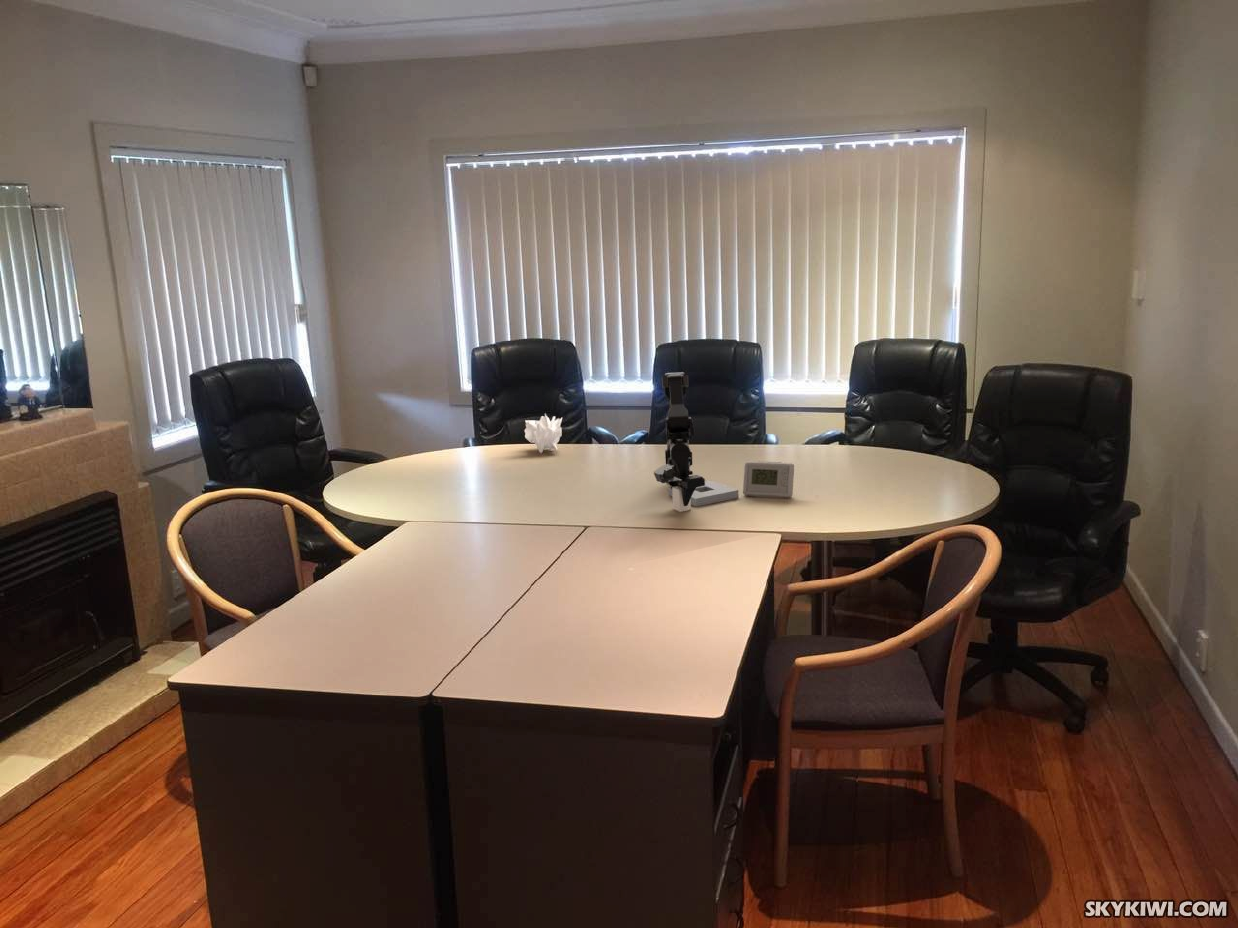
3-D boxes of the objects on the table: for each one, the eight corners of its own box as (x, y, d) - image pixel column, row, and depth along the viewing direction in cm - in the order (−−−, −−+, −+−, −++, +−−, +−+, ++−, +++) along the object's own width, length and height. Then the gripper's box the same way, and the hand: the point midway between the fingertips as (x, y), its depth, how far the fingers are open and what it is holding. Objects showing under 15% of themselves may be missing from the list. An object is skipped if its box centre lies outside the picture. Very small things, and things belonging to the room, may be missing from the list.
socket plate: (669, 496, 332) (668, 488, 331) (710, 487, 339) (710, 480, 338) (695, 506, 318) (695, 498, 317) (738, 497, 325) (738, 490, 324)
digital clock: (740, 496, 327) (739, 463, 324) (753, 489, 334) (752, 457, 332) (786, 501, 318) (786, 468, 315) (799, 494, 325) (798, 461, 322)
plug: (673, 509, 316) (671, 480, 314) (684, 506, 318) (682, 478, 316) (679, 511, 313) (678, 483, 311) (691, 509, 315) (689, 481, 313)
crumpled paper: (576, 418, 407) (547, 399, 399) (562, 456, 401) (532, 438, 393) (549, 425, 423) (520, 408, 415) (535, 462, 416) (506, 445, 409)
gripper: (641, 453, 316) (644, 502, 320) (673, 464, 300) (675, 515, 304) (672, 448, 321) (674, 496, 325) (705, 458, 305) (707, 509, 309)
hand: (681, 504), depth 315 cm, fingers closed on plug, 4 cm apart
